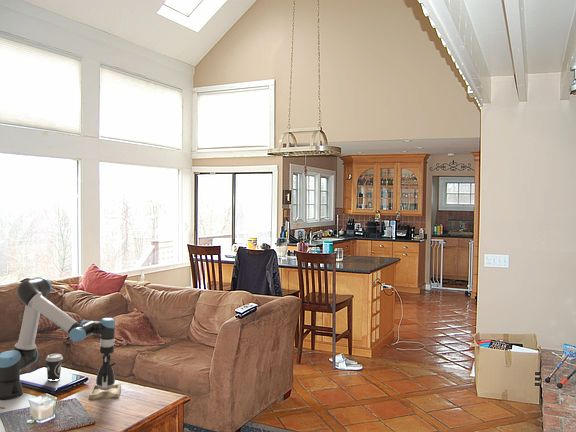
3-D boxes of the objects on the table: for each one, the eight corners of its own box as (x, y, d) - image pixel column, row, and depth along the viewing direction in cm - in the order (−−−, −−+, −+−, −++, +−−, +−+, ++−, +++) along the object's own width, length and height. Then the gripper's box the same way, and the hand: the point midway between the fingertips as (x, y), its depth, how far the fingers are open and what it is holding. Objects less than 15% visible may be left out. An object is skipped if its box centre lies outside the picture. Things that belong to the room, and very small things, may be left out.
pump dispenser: (117, 390, 296) (118, 363, 295) (98, 393, 290) (99, 366, 289) (112, 384, 304) (113, 358, 303) (93, 387, 298) (94, 361, 297)
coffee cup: (56, 376, 320) (57, 352, 319) (65, 380, 314) (66, 355, 314) (41, 380, 312) (42, 355, 312) (50, 384, 306) (51, 359, 306)
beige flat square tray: (88, 399, 287) (88, 395, 287) (92, 388, 303) (92, 384, 302) (118, 398, 291) (119, 393, 291) (120, 387, 307) (121, 383, 306)
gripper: (112, 351, 286) (110, 390, 287) (115, 339, 308) (114, 376, 309) (98, 351, 284) (96, 391, 285) (102, 340, 306) (100, 377, 307)
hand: (105, 383), depth 297 cm, fingers closed on pump dispenser, 10 cm apart
